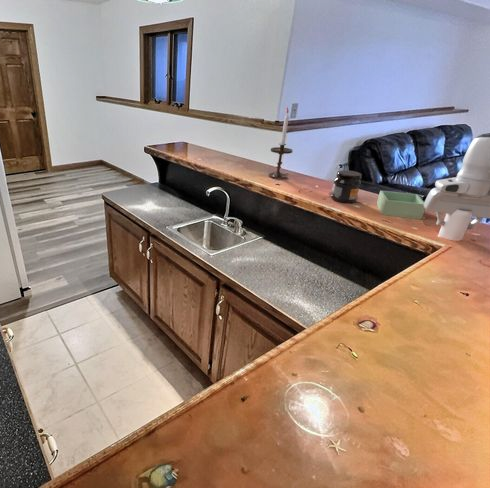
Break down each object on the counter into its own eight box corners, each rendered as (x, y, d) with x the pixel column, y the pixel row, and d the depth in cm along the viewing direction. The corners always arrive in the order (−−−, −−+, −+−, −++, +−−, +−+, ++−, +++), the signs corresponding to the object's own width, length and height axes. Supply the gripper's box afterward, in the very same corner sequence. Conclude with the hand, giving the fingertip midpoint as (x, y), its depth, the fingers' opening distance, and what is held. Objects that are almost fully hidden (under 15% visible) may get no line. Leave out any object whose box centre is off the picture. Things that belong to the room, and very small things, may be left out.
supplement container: (361, 201, 152) (368, 174, 147) (344, 205, 148) (351, 177, 143) (341, 194, 161) (347, 169, 155) (324, 197, 157) (330, 171, 151)
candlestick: (263, 174, 191) (272, 106, 175) (280, 173, 193) (291, 105, 178) (273, 180, 181) (284, 108, 166) (291, 178, 184) (304, 107, 168)
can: (441, 244, 116) (455, 210, 110) (433, 236, 121) (446, 203, 116) (464, 246, 114) (479, 212, 109) (454, 238, 120) (468, 205, 114)
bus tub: (412, 207, 146) (417, 194, 144) (421, 219, 135) (426, 204, 132) (376, 203, 150) (380, 190, 148) (381, 214, 139) (386, 200, 136)
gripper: (507, 187, 109) (487, 228, 115) (430, 180, 115) (416, 219, 121) (517, 193, 103) (496, 235, 109) (436, 185, 109) (421, 225, 116)
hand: (453, 226), depth 115 cm, fingers open, 7 cm apart
